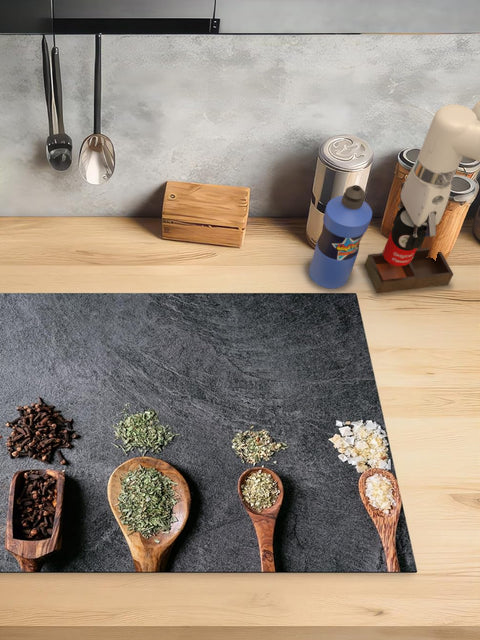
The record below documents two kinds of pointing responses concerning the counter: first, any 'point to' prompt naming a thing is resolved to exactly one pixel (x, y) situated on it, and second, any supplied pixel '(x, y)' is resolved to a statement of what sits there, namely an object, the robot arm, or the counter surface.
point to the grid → (408, 272)
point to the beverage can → (400, 241)
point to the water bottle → (340, 238)
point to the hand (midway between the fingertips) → (406, 235)
